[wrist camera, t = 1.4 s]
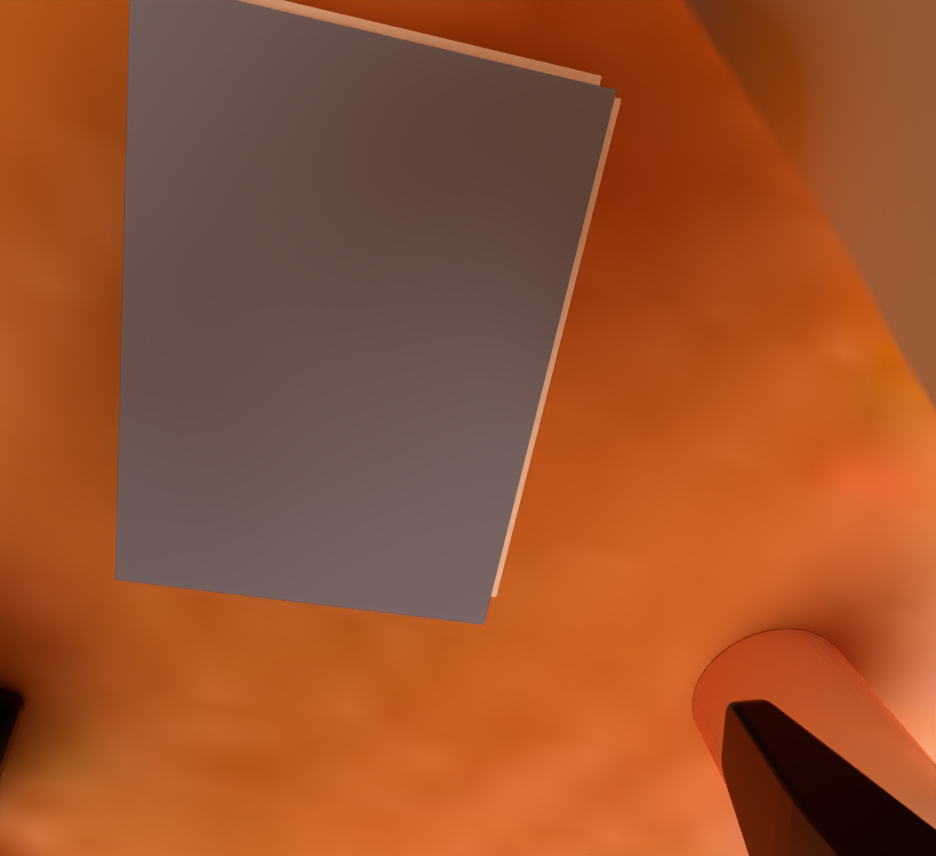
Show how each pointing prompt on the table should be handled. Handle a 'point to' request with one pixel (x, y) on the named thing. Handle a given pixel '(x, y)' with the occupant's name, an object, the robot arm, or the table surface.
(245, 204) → the gray book
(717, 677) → the pen cup
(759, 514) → the table surface
